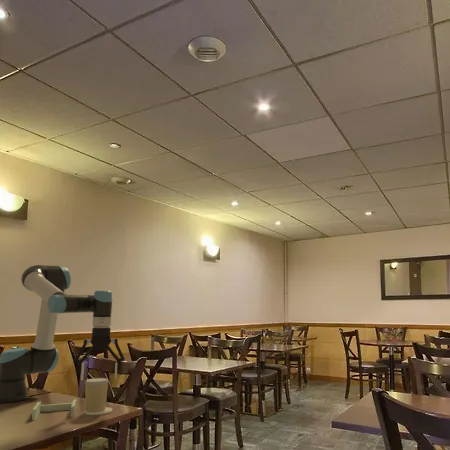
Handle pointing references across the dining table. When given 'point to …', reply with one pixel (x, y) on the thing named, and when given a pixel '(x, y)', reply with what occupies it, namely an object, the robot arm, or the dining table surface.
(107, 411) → the coaster
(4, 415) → the dining table surface
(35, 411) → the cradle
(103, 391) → the coffee cup
